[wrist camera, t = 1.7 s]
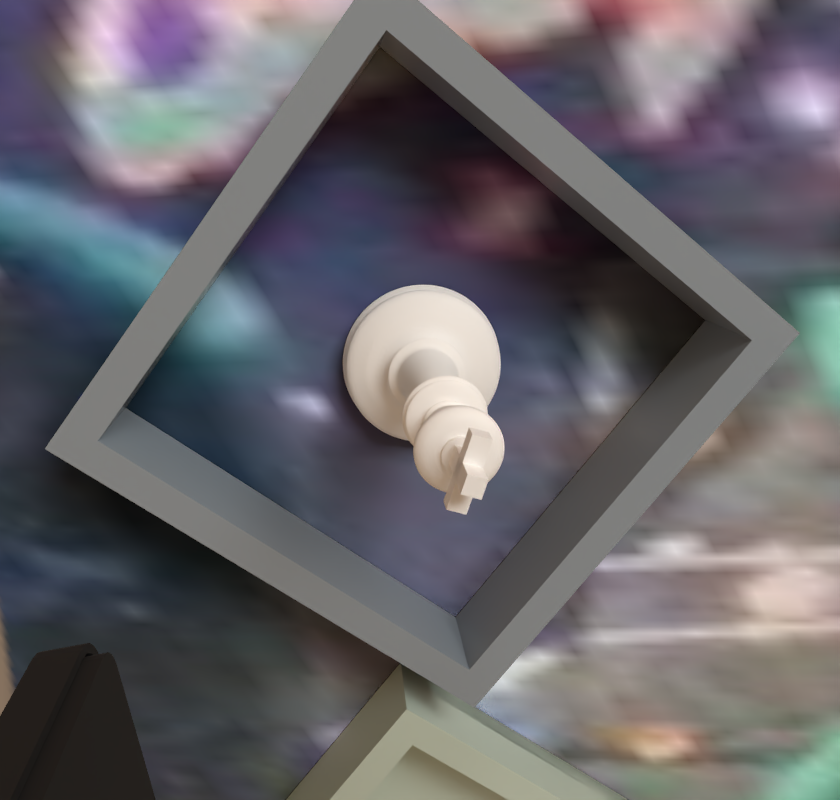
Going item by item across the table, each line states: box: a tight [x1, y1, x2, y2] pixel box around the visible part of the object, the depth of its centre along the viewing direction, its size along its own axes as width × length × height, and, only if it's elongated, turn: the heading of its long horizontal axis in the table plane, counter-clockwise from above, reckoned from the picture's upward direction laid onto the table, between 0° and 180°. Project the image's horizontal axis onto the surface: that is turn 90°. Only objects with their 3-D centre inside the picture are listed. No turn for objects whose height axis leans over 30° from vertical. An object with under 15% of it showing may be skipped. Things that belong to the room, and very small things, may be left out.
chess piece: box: [343, 285, 504, 514], centre depth 20 cm, size 5×5×10 cm
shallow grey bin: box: [45, 0, 799, 707], centre depth 24 cm, size 15×15×3 cm
